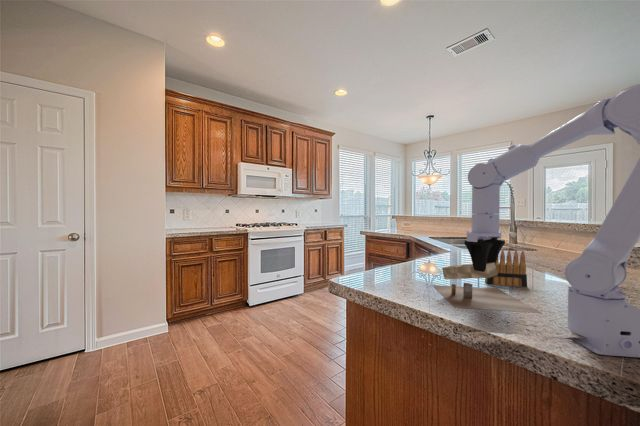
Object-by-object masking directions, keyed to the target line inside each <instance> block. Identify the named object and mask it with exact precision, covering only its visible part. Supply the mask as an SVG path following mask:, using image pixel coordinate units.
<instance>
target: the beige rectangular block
mask: <svg viewBox="0 0 640 426" xmlns="http://www.w3.org/2000/svg"><path fill="white" fill-rule="evenodd" d="M441 271H442V275H443V278H444V280H462V279H463V280H464V279H485V278H490V277H493V276H496V275H498V273H497V270H496V266H495V262H494V263H487V264H486V269H485V272H481V271H476V270H474V267H473V263H470V264H468V263H467V264H458V265H457V264H453V265H448V266H443V267H441Z"/></svg>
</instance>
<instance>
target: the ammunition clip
mask: <svg viewBox="0 0 640 426" xmlns="http://www.w3.org/2000/svg"><path fill="white" fill-rule="evenodd" d="M518 253H519V252H518V251H517V250H515V251H514V253H513V259H512V253H511V251H510V250H508V251H507V253H506V254H507V255H506V256H505V251H504V250H502V249H501V250H500V256H499V257H498V258H497V262H496V265H495V266H496V270H497V273H498V275H496V276H493V277H490V278H484V283H485V284H487V285H496V286H500V285H501V286H511V287H512V286H514V287H515V286H516V287H523V288H526V287H527V288H528V276H527V264H526V255H525V252H524V250H522V251H521V253H520V258H519V254H518Z"/></svg>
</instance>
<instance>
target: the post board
mask: <svg viewBox="0 0 640 426" xmlns="http://www.w3.org/2000/svg"><path fill="white" fill-rule="evenodd" d="M432 287H433V288H434V289H435V290H436V292H438V293H439V294H440V295H441V296H442V297H443V298H444V299H445V300H446V301H447V302H448V303H449V305H451V306H452V307H453V308H455V309H469V310H470V309H471V310H484V311H485V310H487V311H503V312H505V311H506V312H518V313H519V312H521V313H537V314H539V313H540V314H541V313H542V311H540V310H538V309H536V308H535V307H533V306H531V305H529V304H527V303H525V302H523V301H521V300H520V299H517V298H516V297H514V296H512V295H510V294H509V293H506V292H505V291H503V290H502V289H499V288H497V287H477V286H476V287H475V286H473V284H472V283H469V282H463V286H458V285H457V284H456V283H451V285H433V284H432Z"/></svg>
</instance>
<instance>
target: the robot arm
mask: <svg viewBox="0 0 640 426" xmlns="http://www.w3.org/2000/svg"><path fill="white" fill-rule="evenodd" d="M615 128H618V129H619V130H621V131H622V132H624V133H625V134H627V135H629V136H631V137H632V138H633V139H634V140H635V141H636V143H637V144H638V145H639V146H640V84H635V85H630V86H628V87H625V88H623V89H622V90H620V91H618V92H617V93H615V95H613V96H612V97H610V96H609V97H606V98H604V99H602V100H600V101H598V102H597V103H595V104H594V105H593V106H591V107H590V108H588V109H587V110H586V111H584V112H583V113H581V114H579V115H578V116H576V117H574V118H572V119H570V120H569V121H568V122H566V123H564V124H562V125H561V126H559V127H558V128H556V129H554V130H552V131H551V132H549V133H547V134H546V135H544V136H543V137H541V138H539V139H537V140H536V141H534V142H533V143H531V144H526V143H520V144H518V145H514V144H512V145H510V146H508V148H507V149H508V150H507V151H505V152H504V153H502V154H500V155H497V156H496V157H495V158H492V157H491V158H489V159H488V160H487V163H485V162H480V163H476V164H475V165H474V166H473V167H471V168H470V170H469V171H468V173H467V181H468V183H469V184H470V186H471V187H472V188H471V189H472V190H471V230H467V231H466V239H465V240H464V245H465V247H466V249H467V251H468V252H469V256H470V259H471V264H473V267H474V270H476V271H481V272H485V269H486V264H487V263H494V262H495V265H496V262H497V258H498V259H499V254H500V253H501V251H502V248H503V247H504V245H505V243H506V240H504V239H502V231H501V230H500V207H501V206H500V200H501V195H500V193H501V192H500V190H501V189H500V188H501V186H502V185H503V184H504V182H505V181H507V180H509V179H512V178H513V177H516V176H518V175H520V174H522V173H524V172H526V171H528V170H531V169H532V168H534V167H536V166H537V165H538V163H539V161H540V159H541V158H542V157H544V156H546V155H548V154H550V153H552V152H555V151H557V150H560V149H562V148H563V147H566V146H568V145H570V144H572V143H574V142H576V141H580V140H581V139H583V138H586V137H587V136H599V135H603V136H604V135H615V133H616V131H615ZM639 240H640V158H638V161H637V162H636V164H635V165H634V168H633V170H632V171H631V173H630V174H629V176H628V178H627V180H626V181H625V183H624V185H623V187H622V188H621V190H620V192H619V194H618V196H617V197H616V199H615V201H614V202H613V204H612V206H611V208H610V209H609V211H608V213H607V214H606V217H605V218H604V220H603V222H602V224H601V225H600V227H599V229H598V231H597V232H596V234H595V236H594V238H593V239H592V240H591V241H590V242H589V243H588V244H587V246H586V247H585V248H584V249H583V251H582V253H581V254H580V255H579V256H578V257H576V258H575V259H573V260H571V261H570V262H569V263H567V264H566V266H565V269H564V276H565V279H566V281H567V283H568V284H569V285H567V329H568V330H569V331H571V332H572V333H575V334H577V335H579V336H581V337H574V336H573V337H572V336H570V337H568V338H569V339H571V340H573V341H574V342H576V343H577V344H580V345H581V346H583V347H584V348H586V349H587V350H589V351H591V352H593V353H594V354H597V355H599V356H601V355H602V356H616V357H630V358H640V308H639V307H637V306H636V305H633V304H631V303H630V302H629V301H628V299H627V298H626V297H627V295H626V292H625V291H624V290H623V289H622V288H621V287H620V285H621V284H622V283H624V282H625V281H626V279H627V276H628V272H627V263H628V261H629V259H630V258H631V256H632V253H633V249H634V248H635V246H636V244H637V243H638V242H639Z"/></svg>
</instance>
